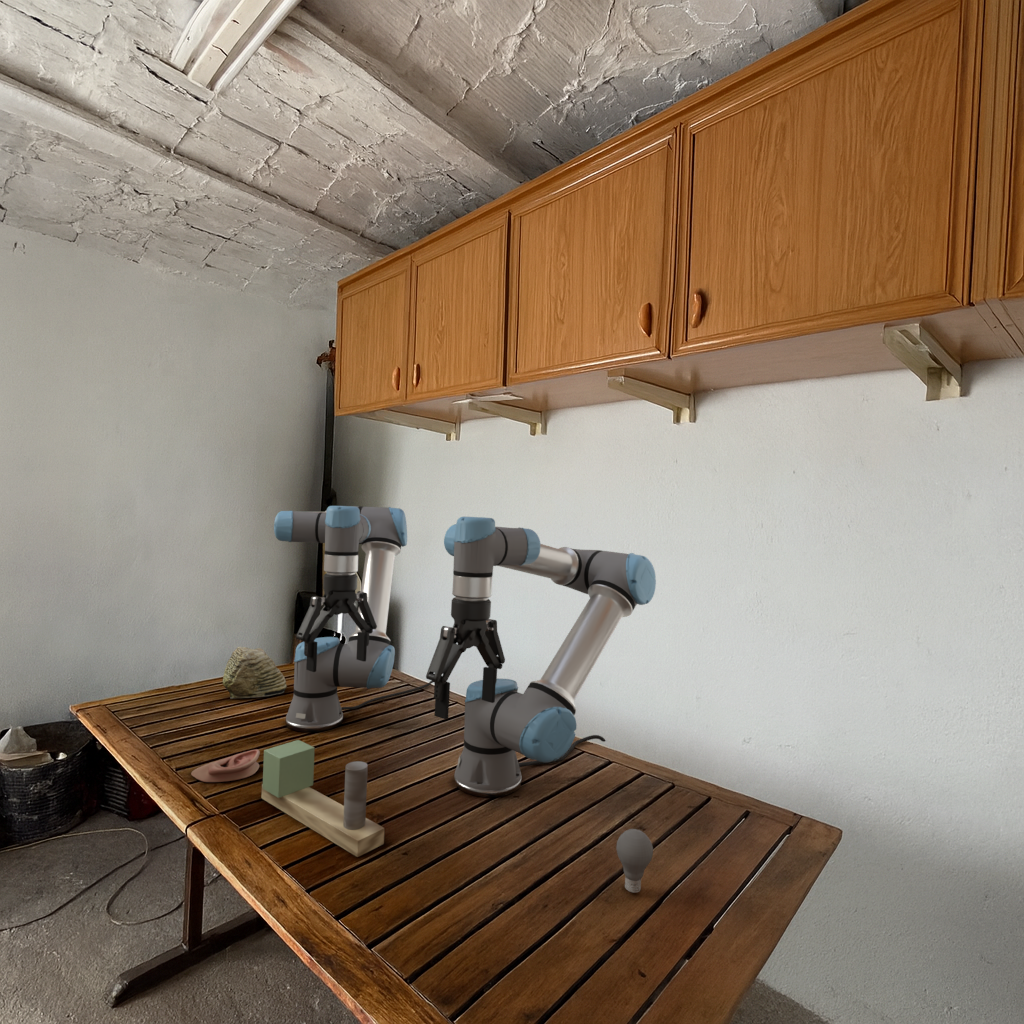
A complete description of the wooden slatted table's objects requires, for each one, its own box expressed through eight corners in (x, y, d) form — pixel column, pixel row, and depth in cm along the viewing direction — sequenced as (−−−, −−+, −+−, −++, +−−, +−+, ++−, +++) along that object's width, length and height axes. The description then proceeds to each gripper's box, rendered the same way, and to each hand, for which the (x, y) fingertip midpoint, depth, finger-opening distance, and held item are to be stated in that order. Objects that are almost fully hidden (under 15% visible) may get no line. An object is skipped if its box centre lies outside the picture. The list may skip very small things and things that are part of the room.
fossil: (218, 695, 195) (220, 647, 195) (278, 685, 208) (279, 640, 207) (228, 703, 189) (230, 653, 188) (289, 692, 201) (290, 645, 201)
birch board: (287, 788, 137) (289, 724, 136) (383, 844, 117) (386, 768, 116) (261, 798, 132) (263, 731, 132) (357, 857, 112) (360, 779, 112)
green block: (297, 776, 136) (298, 739, 136) (313, 785, 132) (314, 747, 132) (262, 788, 130) (263, 750, 130) (278, 798, 126) (279, 758, 126)
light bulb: (610, 879, 108) (613, 822, 108) (644, 879, 109) (647, 822, 109) (619, 902, 102) (622, 840, 102) (655, 901, 103) (658, 840, 103)
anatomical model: (182, 760, 139) (216, 741, 150) (181, 778, 139) (216, 758, 150) (236, 768, 136) (267, 748, 147) (235, 786, 136) (266, 765, 147)
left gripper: (373, 568, 157) (370, 653, 158) (282, 574, 138) (278, 671, 138) (393, 571, 152) (390, 659, 153) (301, 578, 133) (297, 679, 133)
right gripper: (496, 590, 133) (491, 691, 133) (410, 601, 113) (404, 719, 113) (525, 594, 128) (520, 699, 129) (441, 606, 108) (434, 730, 109)
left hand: (337, 665), depth 145 cm, fingers open, 13 cm apart
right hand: (465, 708), depth 121 cm, fingers open, 13 cm apart
